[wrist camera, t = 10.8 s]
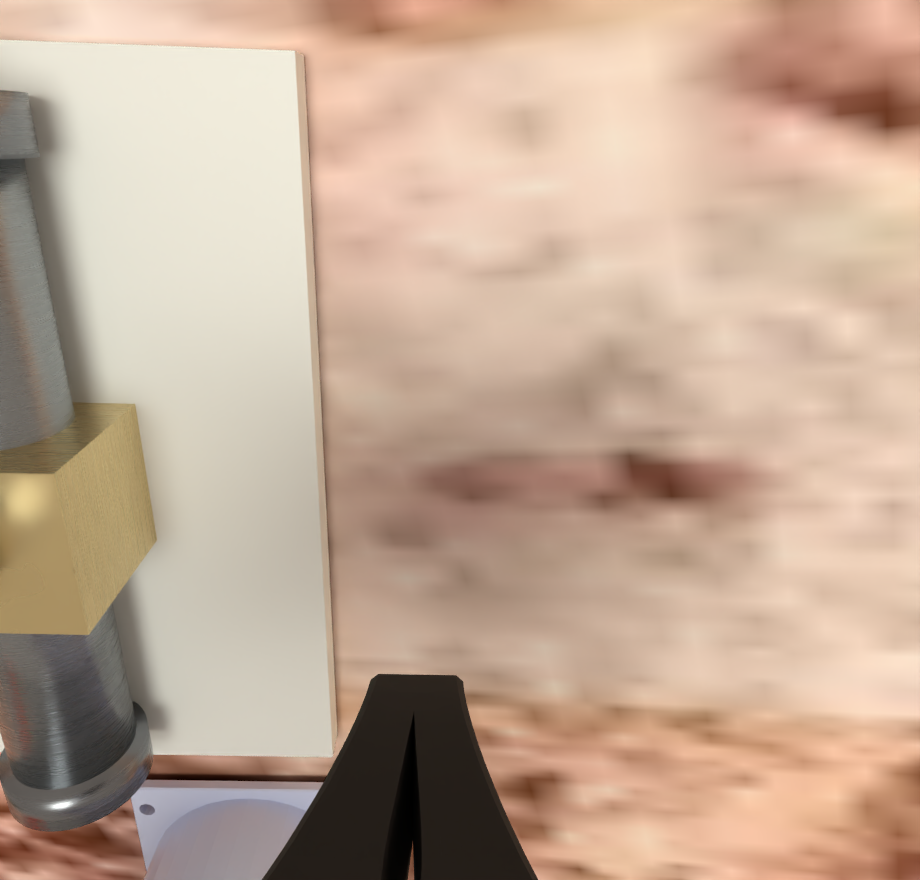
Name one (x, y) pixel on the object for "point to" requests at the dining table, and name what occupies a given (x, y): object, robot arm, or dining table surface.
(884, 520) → the dining table surface
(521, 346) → the dining table surface
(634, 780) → the dining table surface
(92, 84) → the valve board
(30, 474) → the pipe and valve
